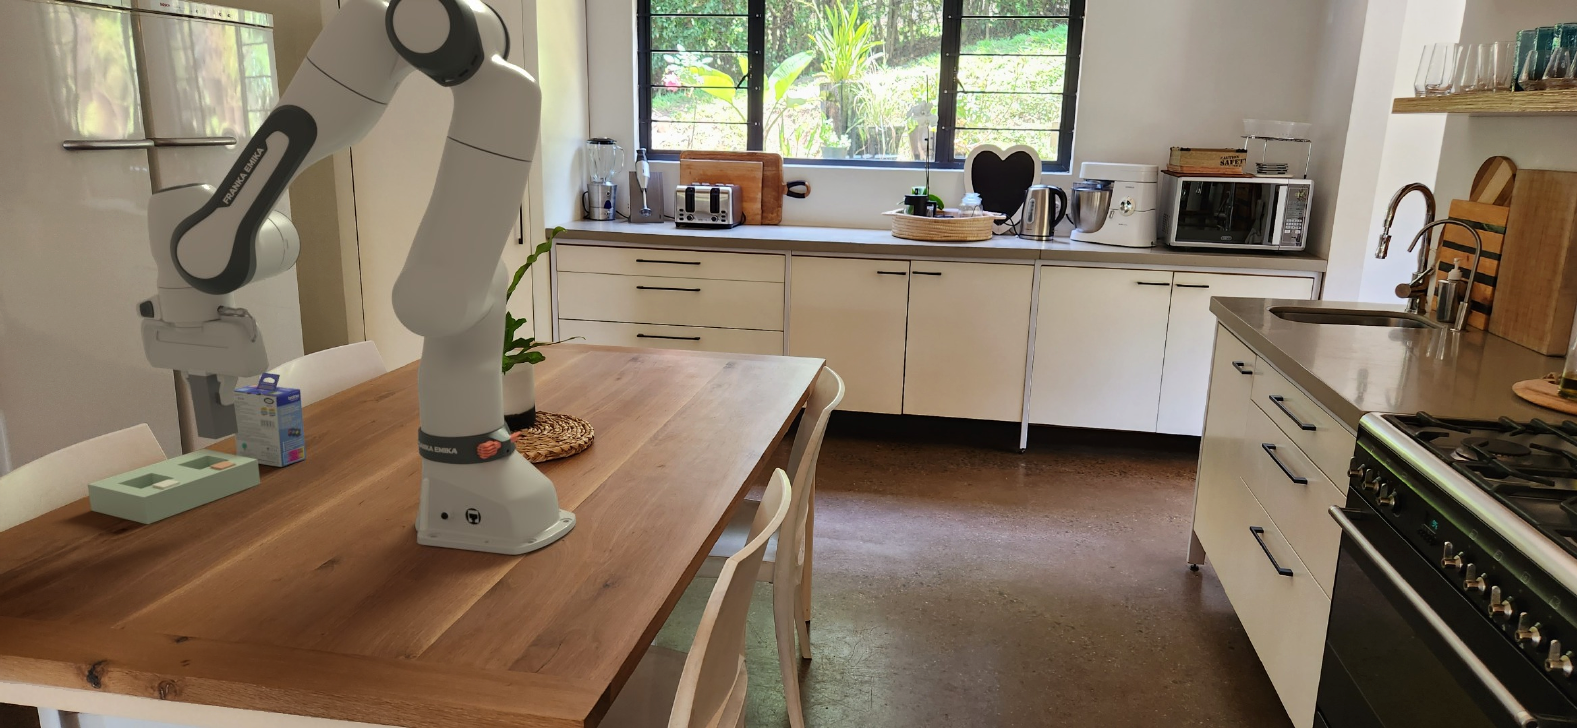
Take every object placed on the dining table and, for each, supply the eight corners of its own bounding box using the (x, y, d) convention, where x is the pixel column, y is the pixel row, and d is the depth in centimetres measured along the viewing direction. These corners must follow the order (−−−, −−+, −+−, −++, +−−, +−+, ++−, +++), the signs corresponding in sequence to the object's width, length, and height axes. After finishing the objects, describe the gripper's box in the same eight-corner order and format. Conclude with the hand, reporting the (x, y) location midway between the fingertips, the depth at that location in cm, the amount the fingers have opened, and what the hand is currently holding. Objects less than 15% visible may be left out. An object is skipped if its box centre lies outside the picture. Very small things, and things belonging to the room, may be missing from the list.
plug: (238, 432, 140) (228, 363, 138) (215, 439, 137) (205, 369, 135) (220, 429, 142) (210, 361, 139) (198, 436, 139) (187, 367, 136)
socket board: (260, 483, 154) (257, 457, 153) (147, 524, 138) (143, 495, 137) (206, 472, 159) (203, 446, 158) (91, 510, 143) (87, 482, 142)
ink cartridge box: (309, 458, 167) (301, 374, 163) (283, 468, 161) (274, 382, 158) (262, 451, 170) (253, 369, 166) (235, 461, 164) (226, 376, 161)
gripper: (273, 304, 134) (286, 403, 137) (170, 297, 142) (185, 390, 145) (231, 312, 128) (246, 415, 132) (126, 304, 136) (143, 401, 140)
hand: (213, 402), depth 138 cm, fingers closed on plug, 3 cm apart
